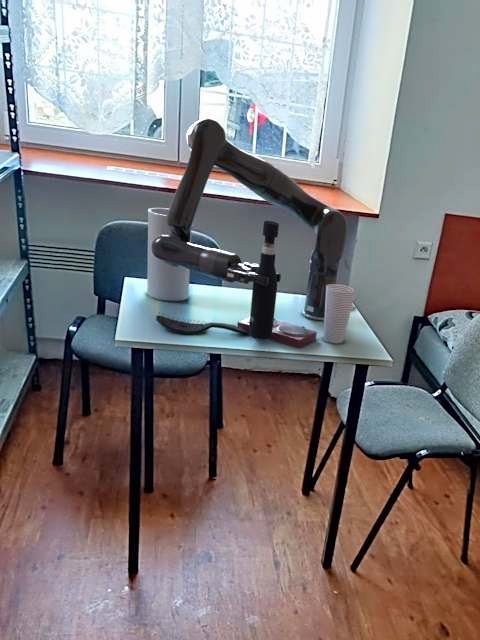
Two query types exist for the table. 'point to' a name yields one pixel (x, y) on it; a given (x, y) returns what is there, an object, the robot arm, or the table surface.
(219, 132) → the robot arm
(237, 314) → the table surface
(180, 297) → the cylinder vase
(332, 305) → the cup
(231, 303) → the table surface
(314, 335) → the hot plate
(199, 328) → the hairbrush
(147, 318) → the table surface
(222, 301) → the table surface
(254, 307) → the water bottle
